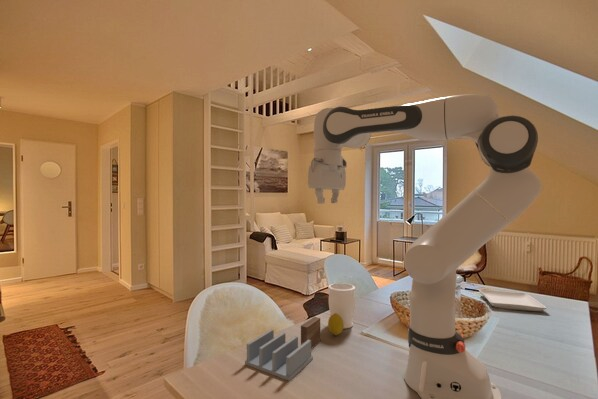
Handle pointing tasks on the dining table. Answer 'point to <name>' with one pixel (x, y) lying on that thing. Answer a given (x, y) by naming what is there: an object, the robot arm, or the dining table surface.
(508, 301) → the salad plate
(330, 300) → the jar
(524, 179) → the robot arm
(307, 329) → the board
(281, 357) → the rack
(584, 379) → the dining table surface
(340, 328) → the lemon
